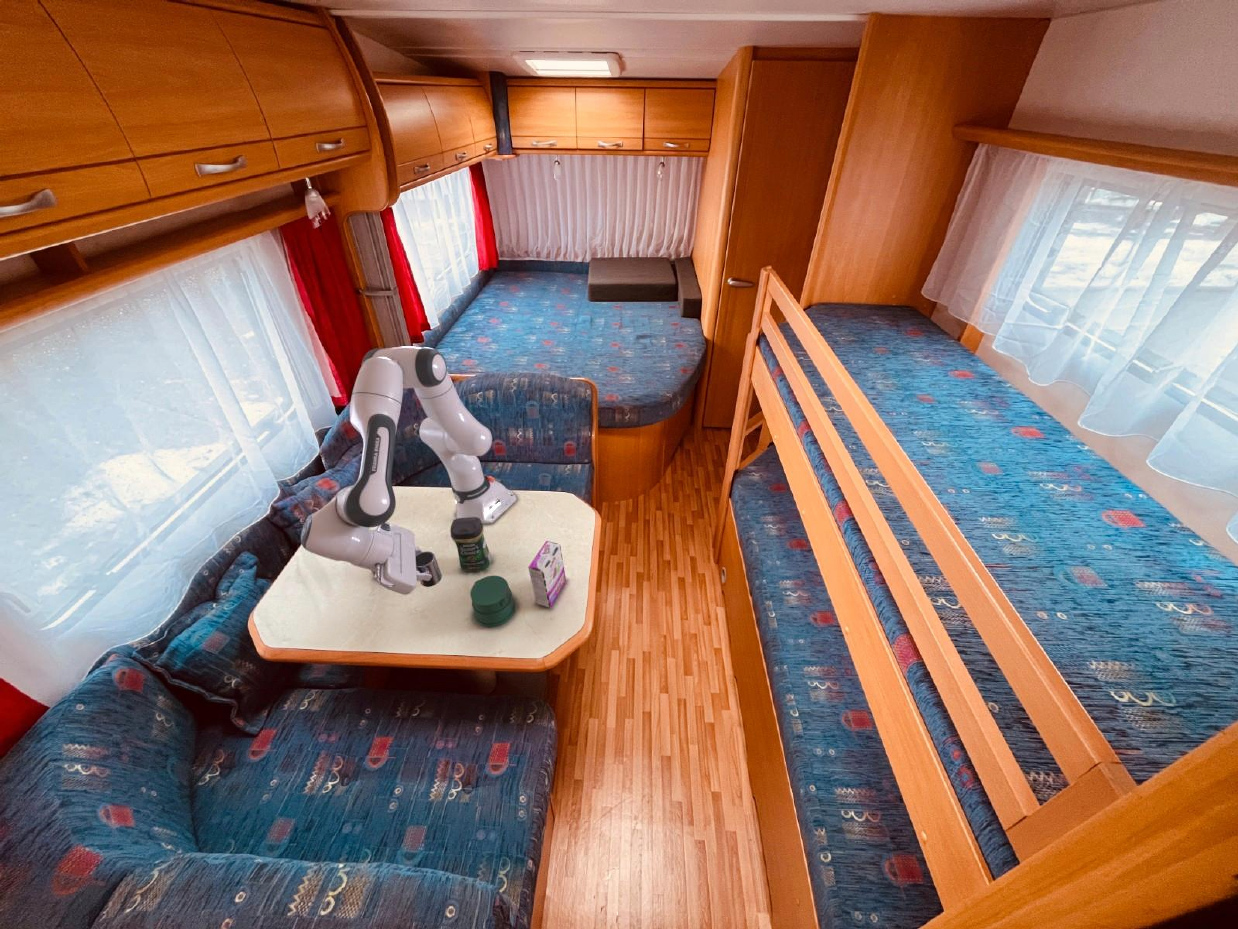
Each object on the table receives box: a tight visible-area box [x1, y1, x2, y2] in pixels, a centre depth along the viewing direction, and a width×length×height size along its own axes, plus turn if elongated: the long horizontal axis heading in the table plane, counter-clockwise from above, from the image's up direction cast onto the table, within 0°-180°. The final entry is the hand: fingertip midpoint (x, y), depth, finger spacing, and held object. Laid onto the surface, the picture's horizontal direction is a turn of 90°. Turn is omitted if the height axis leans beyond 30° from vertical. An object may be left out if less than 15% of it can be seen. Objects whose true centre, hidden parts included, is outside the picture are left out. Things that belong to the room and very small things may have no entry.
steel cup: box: [416, 550, 443, 588], centre depth 121 cm, size 5×5×8 cm
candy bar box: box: [527, 540, 567, 609], centre depth 138 cm, size 11×5×16 cm, turn 160°
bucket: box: [469, 575, 517, 628], centre depth 136 cm, size 12×12×9 cm
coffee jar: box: [449, 517, 492, 573], centre depth 148 cm, size 10×8×19 cm
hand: (429, 567), depth 121 cm, fingers closed on steel cup, 5 cm apart
